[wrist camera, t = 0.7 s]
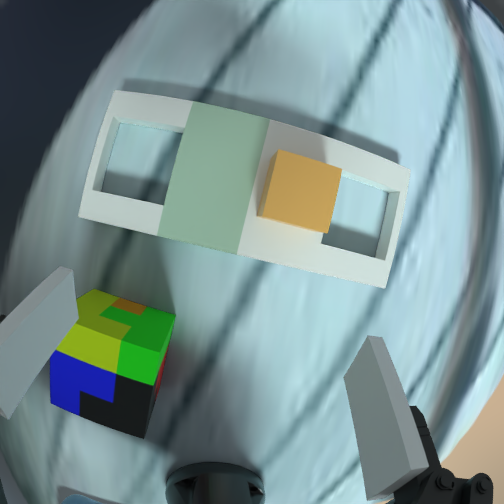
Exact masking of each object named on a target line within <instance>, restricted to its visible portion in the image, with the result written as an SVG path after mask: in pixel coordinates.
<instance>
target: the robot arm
mask: <svg viewBox="0 0 504 504" xmlns="http://www.w3.org/2000/svg"><path fill="white" fill-rule="evenodd" d="M78 319H79V316H78V309H77V302H76V294H75V285H74V275H73V270H71V269H68V268H65V267H62V266H59V267H58V268H57V269H56V270H55V271H54V272H53V273H51V274H50V275H49V276H48V277H47V278H46V279H45V280H44V281H43V282H42V283H41V284H40V285H38V286H37V287H36V288H35V289H34V290H33V291H32V292H31V293H30V294H29V295H28V296H27V297H26V298H25V299H24V300H23V301H22V302H21V303H20V304H19V305H18V306H17V307H16V308H15V309H14V310H13V311H12V312H11V313H10V314H9V315H8V316H5V315H1V316H0V414H1V415H2V416H4V417H5V418H7V419H8V420H9V418H10V417H11V415H12V413H13V412H14V410H15V409H16V407H17V405H18V404H19V402H20V401H21V399H22V398H23V396H24V394H25V393H26V391H27V390H28V388H29V387H30V385H31V384H32V382H33V381H34V379H35V378H36V376H37V375H38V373H39V372H40V371H41V369H42V368H43V366H44V365H45V363H46V362H47V361H48V359H49V358H50V356H51V355H52V354H53V352H54V351H55V349H56V348H57V347H58V345H59V344H60V343H61V341H62V340H63V338H64V337H65V336H66V334H67V333H68V332H69V330H70V329H71V328H72V327H73V325H74V324H75V323H76V321H77V320H78ZM344 381H345V385H346V390H347V395H348V399H349V404H350V409H351V414H352V418H353V423H354V429H355V434H356V439H357V444H358V450H359V455H360V461H361V467H362V472H363V478H364V485H365V491H366V498H367V501H368V500H376V499H383V498H386V497H387V496H389V495H390V494H392V493H394V499H392V500H391V501H389V502H388V503H386V504H492V503H493V483H492V480H491V478H490V477H489V476H488V475H486V474H484V473H478V474H476V475H475V476H473V477H472V478H471V479H462V478H455V476H454V475H453V473H452V472H451V471H449V470H448V469H445V468H442V467H441V465H440V462H439V459H438V456H437V452H436V449H435V447H434V444H433V441H432V438H431V436H430V432H429V429H428V428H427V424H426V421H425V418H424V416H423V414H422V413H421V412H420V410H419V409H418V408H417V407H416V406H409V404H408V401H407V398H406V396H405V393H404V390H403V388H402V385H401V382H400V380H399V377H398V375H397V372H396V370H395V367H394V365H393V362H392V360H391V357H390V355H389V352H388V350H387V347H386V345H385V343H384V340H383V338H382V337H375V336H367V338H366V340H365V341H364V343H363V345H362V347H361V349H360V350H359V352H358V354H357V356H356V357H355V359H354V361H353V362H352V364H351V366H350V368H349V369H348V371H347V373H346V374H345V376H344ZM165 494H166V500H167V503H168V504H264V502H265V491H264V486H263V483H262V481H261V479H260V478H259V477H258V476H257V475H256V474H254V473H253V472H251V471H249V470H247V469H245V468H243V467H240V466H236V465H232V464H226V463H215V462H208V463H198V464H192V465H188V466H185V467H183V468H180V469H178V470H177V471H175V472H174V473H173V474H172V475H171V476H170V477H169V478H168V481H167V485H166V493H165ZM0 504H7V500H6V497H5V494H4V490H3V487H2V483H1V479H0ZM61 504H102V503H100V502H97V501H95V500H92V499H90V498H87V497H85V496H82V495H76V494H75V495H71V496H68V497H67V498H66V499H65V500H64V501H63V502H62V503H61Z"/></svg>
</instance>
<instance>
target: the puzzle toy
mask: <svg viewBox="0 0 504 504" xmlns="http://www.w3.org/2000/svg"><path fill="white" fill-rule="evenodd" d="M76 302H77V309H78V316H79V319H78V320H77V321H76V323H75V324H74V325H73V327H72V328H71V329H70V330H69V332H68V333H67V334H66V336H65V337H64V338H63V340H62V341H61V343H60V344H59V345H58V347H57V348H56V349H55V351H54V352H53V354H52V355H51V356H50V398H51V404H54V405H56V406H58V407H60V408H62V409H64V410H67V411H69V412H71V413H74V414H76V415H78V416H81V417H83V418H86V419H88V420H91V421H93V422H96V423H98V424H101V425H104V426H106V427H109V428H112V429H115V430H118V431H121V432H124V433H127V434H130V435H133V436H136V437H139V438H143V439H144V437H145V434H146V430H147V427H148V424H149V420H150V417H151V414H152V411H153V407H154V404H155V401H156V398H157V394H158V391H159V388H160V383H161V379H162V374H163V369H164V365H165V360H166V355H167V351H168V347H169V342H170V338H171V334H172V329H173V325H174V321H175V317H176V315H174V314H171V313H167V312H164V311H160V310H157V309H154V308H151V307H147V306H144V305H141V304H138V303H135V302H132V301H129V300H126V299H123V298H120V297H117V296H114V295H111V294H108V293H105V292H102V291H99V290H96V289H93V290H91V291H89V292H87V293H86V294H84V295H82V296H81V297H79V298H77V299H76Z"/></svg>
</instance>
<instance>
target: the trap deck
mask: <svg viewBox="0 0 504 504" xmlns="http://www.w3.org/2000/svg"><path fill="white" fill-rule="evenodd" d="M120 123H125V124H132V125H138V126H144V127H150V128H156V129H162V130H167V131H173V132H178V133H183V136H182V139H181V142H180V146H179V149H178V153H177V156H176V160H175V164H174V167H173V171H172V175H171V178H170V182H169V186H168V190H167V194H166V198H165V202H164V205H159V204H155V203H150V202H146V201H141V200H137V199H132V198H127V197H123V196H118V195H113V194H109V193H104V192H101V189H102V185H103V181H104V177H105V173H106V169H107V165H108V162H109V158H110V154H111V151H112V148H113V144H114V141H115V138H116V134H117V131H118V128H119V125H120ZM278 149H280V150H284V151H287V152H291V153H294V154H297V155H301V156H304V157H307V158H310V159H314V160H317V161H320V162H323V163H326V164H329V165H332V166H335V167H338V168H341V169H342V173H341V176H344V177H347V178H350V179H353V180H355V181H358V182H361V183H364V184H367V185H369V186H372V187H375V188H378V189H380V190H383V191H386V192H388V193H389V195H388V201H387V206H386V211H385V215H384V220H383V225H382V229H381V234H380V238H379V242H378V246H377V251H376V255H375V258H373V257H370V256H366V255H362V254H358V253H355V252H351V251H347V250H343V249H340V248H336V247H332V246H328V245H324V244H321V241H322V237H323V233H321V232H314V231H310V230H306V229H303V228H299V227H295V226H291V225H287V224H283V223H280V222H276V221H272V220H268V219H264V218H260V217H257V212H258V208H259V204H260V200H261V196H262V192H263V188H264V184H265V180H266V176H267V172H268V168H269V164H270V160H271V157H272V156H273V155H274V154H275V153H276V152H277V150H278ZM410 171H411V170H410V169H408V168H406V167H403V166H401V165H399V164H397V163H394V162H392V161H390V160H387V159H385V158H382V157H380V156H378V155H375V154H373V153H370V152H368V151H365V150H362V149H360V148H357V147H355V146H352V145H349V144H346V143H344V142H341V141H338V140H335V139H332V138H330V137H327V136H324V135H321V134H318V133H315V132H312V131H309V130H305V129H302V128H299V127H296V126H292V125H289V124H286V123H282V122H279V121H275V120H272V119H268V118H264V117H261V116H257V115H253V114H249V113H245V112H241V111H237V110H232V109H228V108H224V107H219V106H214V105H210V104H205V103H200V102H195V101H189V100H184V99H178V98H172V97H166V96H159V95H152V94H145V93H137V92H129V91H119V90H114V92H113V95H112V98H111V100H110V103H109V106H108V108H107V111H106V114H105V117H104V120H103V123H102V126H101V129H100V132H99V135H98V139H97V142H96V145H95V149H94V152H93V156H92V159H91V163H90V166H89V170H88V174H87V178H86V182H85V186H84V191H83V195H82V200H81V204H80V209H79V214H78V217H80V218H85V219H89V220H93V221H97V222H101V223H105V224H110V225H114V226H118V227H122V228H126V229H130V230H135V231H139V232H143V233H147V234H151V235H156V236H160V237H164V238H168V239H173V240H177V241H181V242H185V243H190V244H194V245H198V246H202V247H207V248H211V249H215V250H219V251H224V252H228V253H232V254H237V255H241V256H245V257H250V258H254V259H258V260H262V261H267V262H271V263H275V264H280V265H284V266H288V267H293V268H297V269H302V270H306V271H310V272H315V273H319V274H323V275H328V276H332V277H337V278H341V279H345V280H350V281H354V282H359V283H363V284H367V285H372V286H376V287H381V288H385V287H386V283H387V280H388V276H389V272H390V269H391V265H392V261H393V257H394V253H395V249H396V244H397V240H398V236H399V231H400V227H401V222H402V217H403V212H404V207H405V201H406V196H407V190H408V184H409V178H410Z"/></svg>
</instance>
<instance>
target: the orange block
mask: <svg viewBox="0 0 504 504" xmlns="http://www.w3.org/2000/svg"><path fill="white" fill-rule="evenodd" d="M341 173H342V169H341V168H338V167H335V166H332V165H329V164H326V163H323V162H320V161H317V160H314V159H310V158H307V157H304V156H301V155H297V154H294V153H291V152H287V151H284V150H280V149H278V150H277V152H276V153H275V154H274V155H273V156H272V157H271V160H270V164H269V168H268V172H267V176H266V180H265V184H264V188H263V192H262V196H261V200H260V204H259V208H258V212H257V217H260V218H264V219H268V220H272V221H276V222H280V223H283V224H287V225H291V226H295V227H299V228H303V229H306V230H310V231H314V232H321V233H327V234H328V231H329V227H330V222H331V218H332V214H333V209H334V205H335V201H336V196H337V192H338V187H339V182H340V178H341Z"/></svg>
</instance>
